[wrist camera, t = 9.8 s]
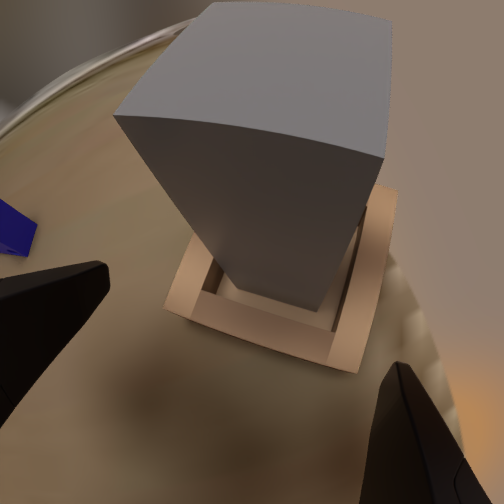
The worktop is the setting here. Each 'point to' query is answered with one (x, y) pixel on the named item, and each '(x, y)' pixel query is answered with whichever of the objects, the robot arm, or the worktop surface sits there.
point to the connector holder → (288, 316)
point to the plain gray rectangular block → (268, 137)
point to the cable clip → (15, 231)
